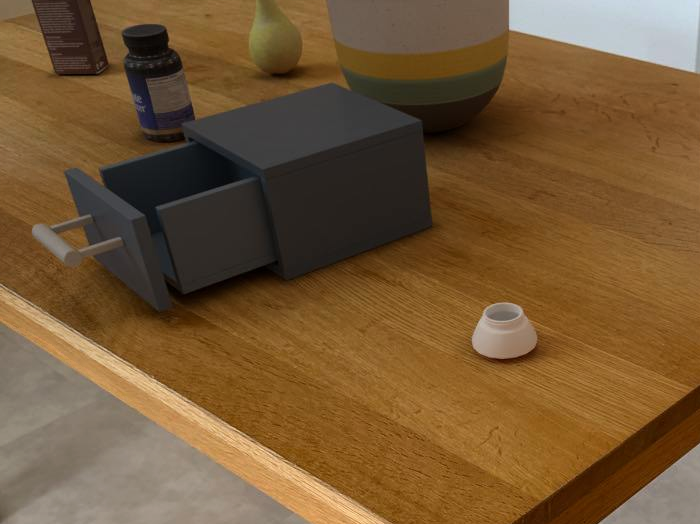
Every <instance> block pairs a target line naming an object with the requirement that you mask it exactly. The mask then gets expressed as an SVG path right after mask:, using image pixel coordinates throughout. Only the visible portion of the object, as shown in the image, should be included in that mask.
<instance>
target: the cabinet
mask: <svg viewBox="0 0 700 524" xmlns="http://www.w3.org/2000/svg"><path fill="white" fill-rule="evenodd" d="M195 119H196V120H193V121H189V122H185V123H182V124H181V126H182V129H183V133H184V137H185V138H184V140H185V143H188V142H192V141H195V140H196V141H198V142H199V143H201V144H203V145H205V146H206V147H208V148H210V149H212V150H213V151H215V152H217V153H219V154H220V155H222V156H224V157H226V158H227V159H229V160H231V161H233V162H234V163H236V164H238V165H240V166H241V167H243V168H245V169H247V170H249V171H250V172H252V173H254V174H256V175H257V176H259V177H260V179H261V184H262V189H263V193H264V198H265V203H266V207H267V212H268V217H269V221H270V226H271V231H272V235H273V240H274V245H275V249H276V254H277V259H278V261H275V262H272V263H270V264H267V265H264V266H263V267H265V268H267V269H268V270H269V271H271V272H273V273H274V274H276V275H277V276H279V277H280V278H282V279H283V280H284V281H289V280H292V279H295V278H298V277H301V276H303V275H306V274H308V273H311V272H314V271H317V270H320V269H322V268H324V267H325V268H326V267H327V266H330V265H333V264H335V263H339V262H341V261H343V260H345V259H348V258H351V257H354V256H356V255H359V254H362V253H365V252H368V251H370V250H374V249H376V248H378V247H381V246H383V245H386V244H389V243H392V242H394V241H397V240H400V239H402V238H405V237H408V236H411V235H413V234H416V233H418V232H421V231H423V230H427V229H429V228H432V227H433V218H432V208H431V198H430V189H429V187H430V186H429V178H428V168H427V158H426V150H425V149H426V148H425V139H424V133H423V131H422V130H423V128H422V120H420V119H417V118H415V117H413V116H410V115H408V114H405V113H403V112H401V111H398V110H396V109H394V108H391V107H389V106H387V105H384V104H382V103H379V102H377V101H375V100H372V99H370V98H368V97H365V96H363V95H360V94H358V93H356V92H353V91H351V89H350V88H346V87H344V86H342V85H339V84H337V83H334V82H328V83H326V84H321V85H317V86H314V87H310V88H306V89H303V90H300V91H295V92H292V93H289V94H285V95H281V96H278V97H274V98H271V99H267V100H263V101H259V102H255V103H251V104H248V105H244V106H240V107H238V108H237V107H236V108H234V109H229V110H225V111H222V112H219V113H215V114H211V115H208V116H204V117H200V118H195Z"/></svg>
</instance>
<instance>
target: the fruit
mask: <svg viewBox="0 0 700 524" xmlns="http://www.w3.org/2000/svg"><path fill="white" fill-rule="evenodd" d="M248 51H249V55H250V57H251V60H252V62H253V63H254V65H255V66H256V67H257V68H258V69H259V70H261V71H262V72H264V73H267V74H276V75H287V72H289V71H291V70H293V69H294V68H295V67H296V66H297V65H298V63H299V62H300V60H301V57H302V55H303V54H302V53H303V38H302V35H301V32H300V30H299V29H298V27H297V26H296V25H295V24H294V23H293V22H292V20H290V18H289V17H288V16H287V15H286V14H284V12H283V11H282V9H281V8H280V7H279V5H278V4H277V3H276V2H275V0H255V16H254V20H253V23H252V26H251V29H250V32H249V35H248Z"/></svg>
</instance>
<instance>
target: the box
mask: <svg viewBox="0 0 700 524" xmlns="http://www.w3.org/2000/svg"><path fill="white" fill-rule="evenodd" d="M30 1H31V3H32V7H33V10H34V13H35V16H36V20H37V22H38V25H39V29H40V31H41V34H42V37H43V40H44V43H45V46H46V50H47V52H48V56H49V58H50V59H49V60H50V62H51V65H52V68H53V71H54V74H55V75H76V74H78V75H79V74H80V75H81V74H82V75H87V74H88V75H90V74H91V75H92V74H93V75H98V74H100V73H102V72H103V71H104V70H106V68H108V66H109V65H110V62H109V59H108V56H107V53H106V48H105V46H104V43H103V38H102V36H101V32H100V29H99V25H98V21H97V18H96V15H95V11H94V8H93V5H92V1H91V0H30Z"/></svg>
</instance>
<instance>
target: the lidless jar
mask: <svg viewBox="0 0 700 524" xmlns="http://www.w3.org/2000/svg"><path fill="white" fill-rule="evenodd" d="M537 343H538V334H537V332H536V330H535V327H534V326H533V325H532V323H531V321H530V319H529V318H528V316H526V314H525V312H524V309H523V308H522V307H521V306H519V305H518V304H515V303H512V302H496V303H493V304H490V305H487V307H486V308H484V309H483V312H482V316H481V317H480V319H479V321H478V323H477V325H476V327H475V328H474V331H473V333H472V335H471V344H472V348H473V349H474V350H475V351H476V352H477V353H478V354H480V355H482V356H485V357H487V358H490V359H491V358H492V359H500V360H501V359H502V360H504V359H513V358H518V357H521V356H524V355H526V354H528V353H529V352H531V351H532V350H534V349H535V347H536V346H537Z"/></svg>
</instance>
